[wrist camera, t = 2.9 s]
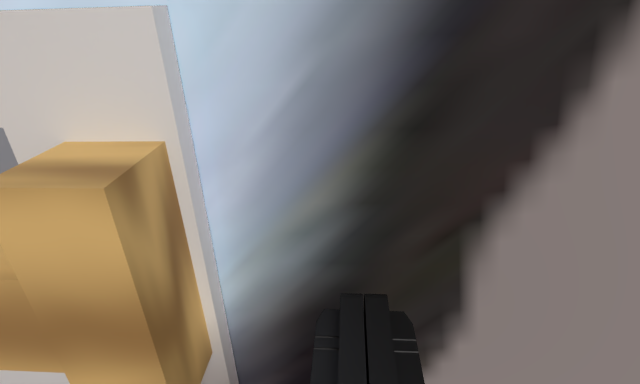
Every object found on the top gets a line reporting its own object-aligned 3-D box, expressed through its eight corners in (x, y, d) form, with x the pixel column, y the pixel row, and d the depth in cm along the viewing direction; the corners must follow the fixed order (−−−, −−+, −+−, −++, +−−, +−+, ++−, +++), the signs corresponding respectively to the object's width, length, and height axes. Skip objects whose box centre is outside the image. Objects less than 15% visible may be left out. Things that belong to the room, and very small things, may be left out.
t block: (-86, 142, 13) (-221, 186, 10) (165, 141, 12) (103, 188, 9) (25, 345, 18) (-45, 419, 15) (212, 352, 17) (182, 431, 14)
